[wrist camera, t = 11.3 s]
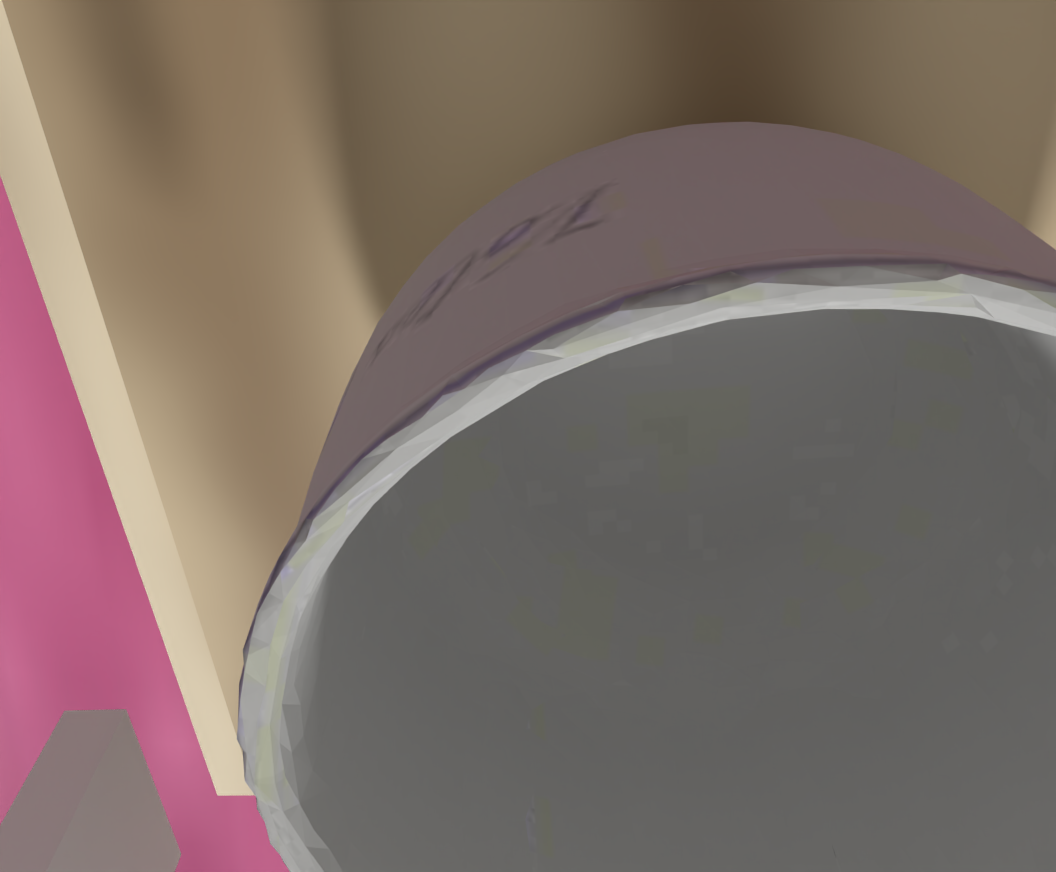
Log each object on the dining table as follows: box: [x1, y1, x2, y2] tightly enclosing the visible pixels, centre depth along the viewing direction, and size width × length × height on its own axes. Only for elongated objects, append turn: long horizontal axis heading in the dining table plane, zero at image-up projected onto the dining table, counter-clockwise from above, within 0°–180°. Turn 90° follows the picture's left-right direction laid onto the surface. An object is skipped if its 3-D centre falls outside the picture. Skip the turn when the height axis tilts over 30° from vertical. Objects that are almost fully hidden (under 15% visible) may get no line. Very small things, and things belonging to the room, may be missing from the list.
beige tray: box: [0, 0, 1056, 795], centre depth 19 cm, size 20×18×4 cm
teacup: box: [237, 122, 1056, 872], centre depth 14 cm, size 14×11×8 cm
